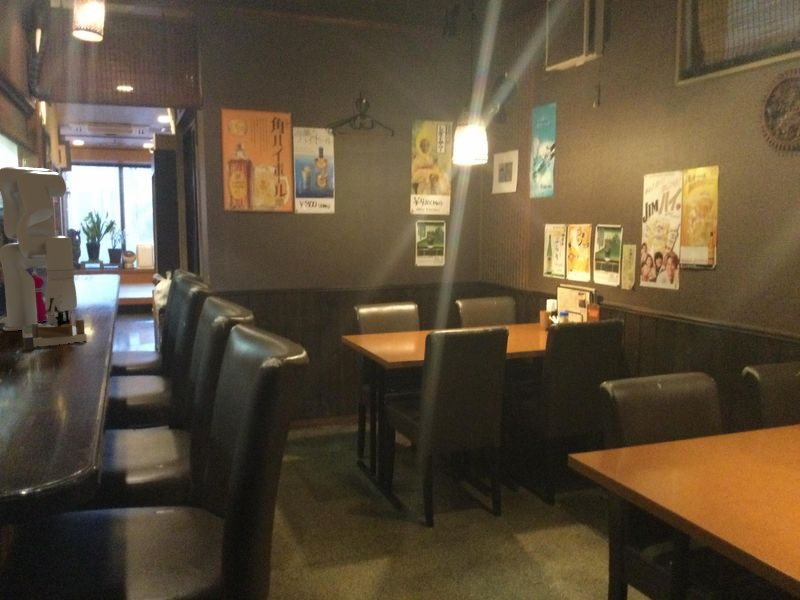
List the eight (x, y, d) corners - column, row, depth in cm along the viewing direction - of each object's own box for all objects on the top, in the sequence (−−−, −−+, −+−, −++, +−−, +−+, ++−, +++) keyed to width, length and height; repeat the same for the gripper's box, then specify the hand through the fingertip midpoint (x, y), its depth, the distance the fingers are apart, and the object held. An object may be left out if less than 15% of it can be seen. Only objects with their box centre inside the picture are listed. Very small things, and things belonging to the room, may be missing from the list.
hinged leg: (42, 335, 203) (41, 324, 202) (72, 335, 203) (72, 323, 202) (38, 337, 200) (37, 325, 200) (69, 336, 200) (68, 324, 200)
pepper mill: (32, 323, 250) (28, 272, 247) (24, 322, 254) (20, 271, 252) (51, 321, 255) (48, 271, 253) (43, 320, 260) (39, 270, 257)
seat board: (16, 338, 215) (15, 317, 214) (75, 333, 225) (73, 313, 224) (25, 350, 192) (23, 327, 191) (90, 344, 203) (88, 322, 202)
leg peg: (47, 334, 223) (45, 311, 222) (55, 332, 227) (53, 310, 226) (57, 334, 223) (55, 311, 222) (65, 332, 226) (63, 310, 226)
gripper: (63, 273, 210) (66, 328, 212) (34, 277, 195) (38, 336, 198) (85, 273, 210) (88, 328, 212) (57, 277, 195) (61, 336, 197)
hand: (64, 332), depth 205 cm, fingers closed
